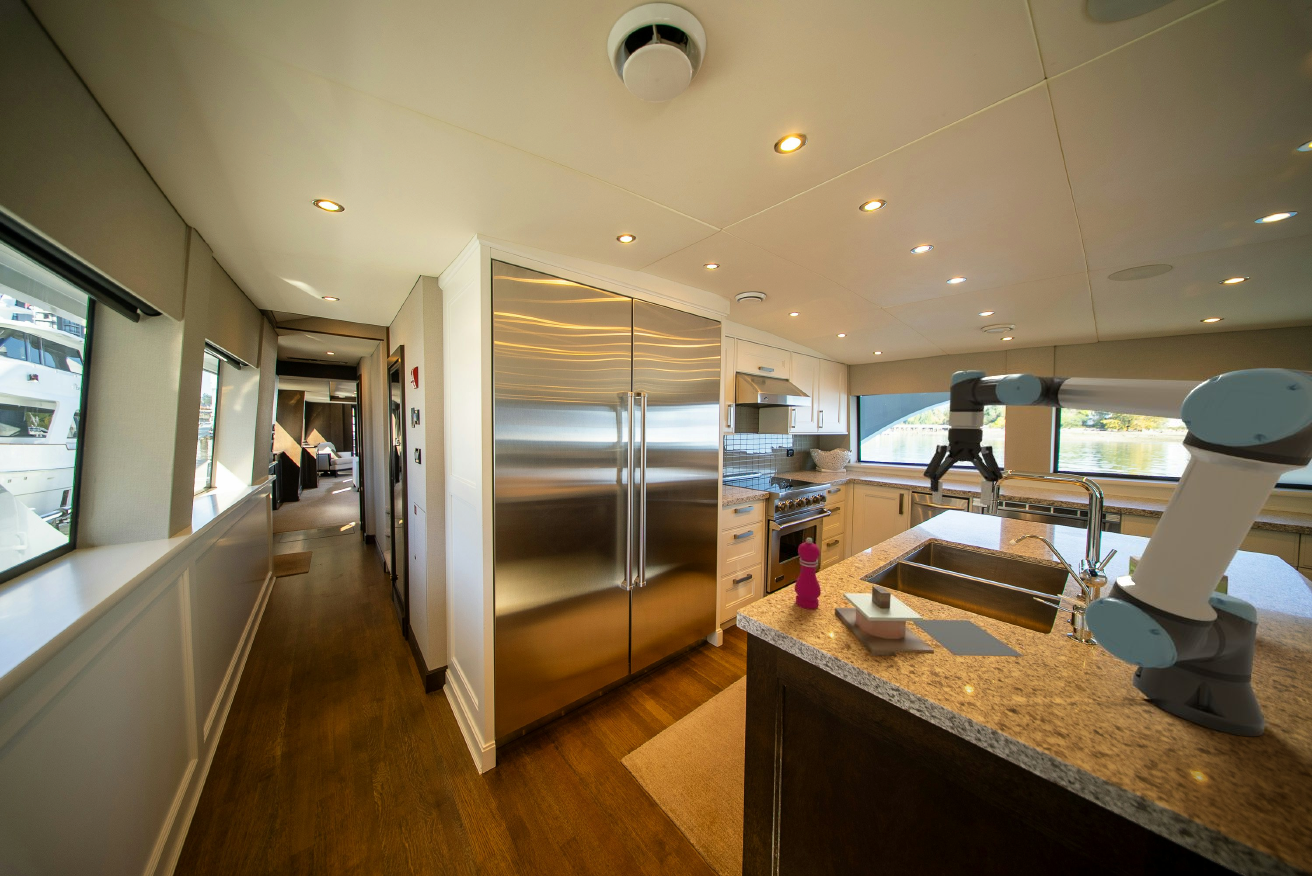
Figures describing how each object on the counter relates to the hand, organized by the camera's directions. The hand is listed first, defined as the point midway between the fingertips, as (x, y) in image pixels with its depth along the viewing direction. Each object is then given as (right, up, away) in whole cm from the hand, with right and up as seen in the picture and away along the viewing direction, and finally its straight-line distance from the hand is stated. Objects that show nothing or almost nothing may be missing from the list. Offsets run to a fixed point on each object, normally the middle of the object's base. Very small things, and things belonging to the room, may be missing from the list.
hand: (961, 503), depth 110 cm
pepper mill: (-40, -31, +7) cm, 51 cm away
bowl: (-27, -30, -8) cm, 42 cm away
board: (-27, -32, -8) cm, 43 cm away
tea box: (+64, -33, +4) cm, 72 cm away
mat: (-8, -32, -11) cm, 35 cm away
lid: (-27, -25, -9) cm, 38 cm away
